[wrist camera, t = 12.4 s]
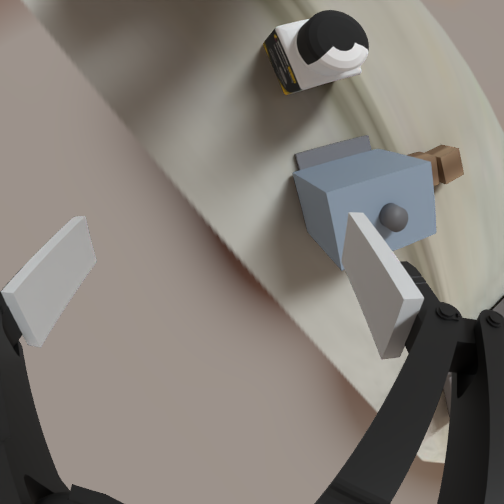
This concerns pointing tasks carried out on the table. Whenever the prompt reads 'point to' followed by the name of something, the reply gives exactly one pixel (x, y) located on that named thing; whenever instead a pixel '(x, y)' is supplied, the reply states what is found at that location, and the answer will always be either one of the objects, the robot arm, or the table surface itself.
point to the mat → (332, 152)
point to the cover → (368, 198)
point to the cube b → (447, 163)
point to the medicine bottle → (316, 50)
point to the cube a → (433, 164)
